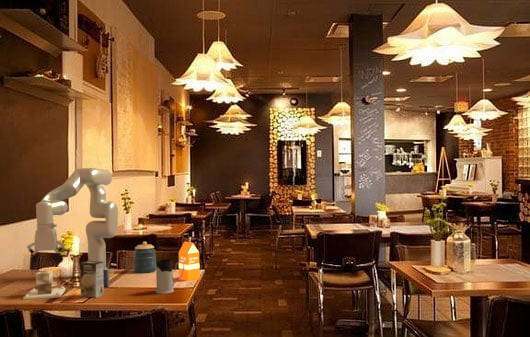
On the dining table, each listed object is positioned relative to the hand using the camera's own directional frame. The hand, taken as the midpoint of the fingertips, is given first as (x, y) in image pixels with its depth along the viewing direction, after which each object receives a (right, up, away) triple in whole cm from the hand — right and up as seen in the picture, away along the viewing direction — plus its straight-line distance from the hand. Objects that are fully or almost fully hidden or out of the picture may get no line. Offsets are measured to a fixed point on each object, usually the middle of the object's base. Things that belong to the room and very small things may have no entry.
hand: (46, 261), depth 261 cm
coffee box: (+25, -15, -8) cm, 30 cm away
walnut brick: (+1, -14, -3) cm, 15 cm away
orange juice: (+66, -14, +27) cm, 73 cm away
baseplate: (+1, -15, -3) cm, 16 cm away
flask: (+23, -15, +13) cm, 30 cm away
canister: (+37, -15, +53) cm, 66 cm away
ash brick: (+1, -9, -4) cm, 10 cm away
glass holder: (+61, -14, -1) cm, 63 cm away
